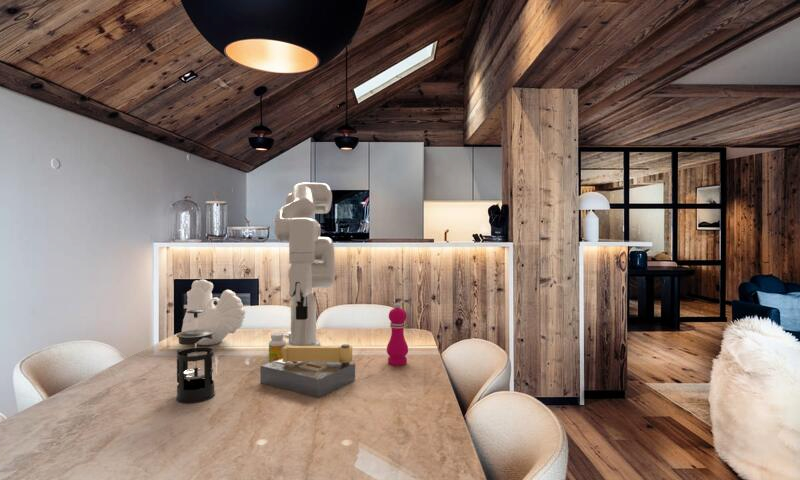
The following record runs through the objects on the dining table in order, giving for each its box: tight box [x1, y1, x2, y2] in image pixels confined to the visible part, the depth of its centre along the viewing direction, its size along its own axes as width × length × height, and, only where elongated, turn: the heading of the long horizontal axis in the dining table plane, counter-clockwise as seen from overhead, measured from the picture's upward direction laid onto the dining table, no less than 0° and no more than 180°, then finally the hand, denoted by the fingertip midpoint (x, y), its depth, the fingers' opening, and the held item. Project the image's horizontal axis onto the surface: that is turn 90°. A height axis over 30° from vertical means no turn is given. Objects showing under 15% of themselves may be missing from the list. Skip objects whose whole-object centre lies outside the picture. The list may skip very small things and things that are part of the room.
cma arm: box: [283, 343, 353, 364], centre depth 127 cm, size 20×4×5 cm, turn 89°
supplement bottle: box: [268, 332, 287, 363], centre depth 144 cm, size 5×5×10 cm
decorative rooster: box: [181, 278, 246, 346], centre depth 167 cm, size 25×16×25 cm, turn 65°
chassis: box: [259, 358, 356, 399], centre depth 127 cm, size 22×16×5 cm
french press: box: [175, 309, 216, 404], centre depth 115 cm, size 12×9×23 cm
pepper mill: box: [386, 302, 409, 367], centre depth 145 cm, size 7×7×20 cm
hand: (301, 319), depth 131 cm, fingers closed
